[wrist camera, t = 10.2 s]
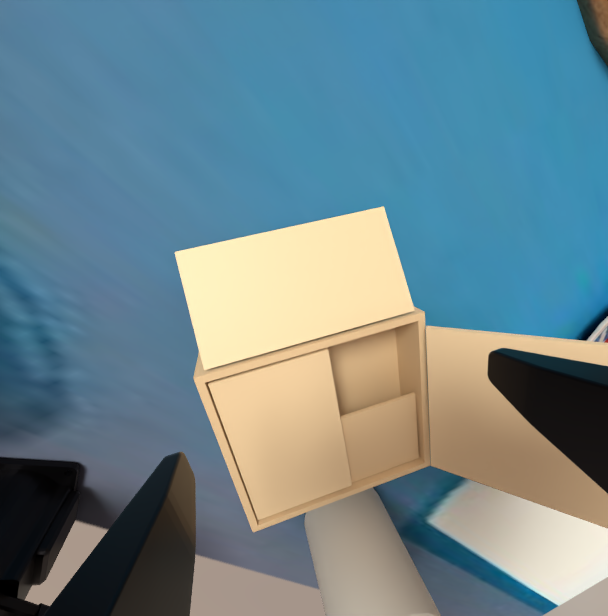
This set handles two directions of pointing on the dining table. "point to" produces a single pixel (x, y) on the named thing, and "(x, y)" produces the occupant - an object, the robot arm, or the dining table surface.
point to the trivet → (596, 24)
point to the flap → (503, 422)
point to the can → (364, 561)
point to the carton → (309, 362)
